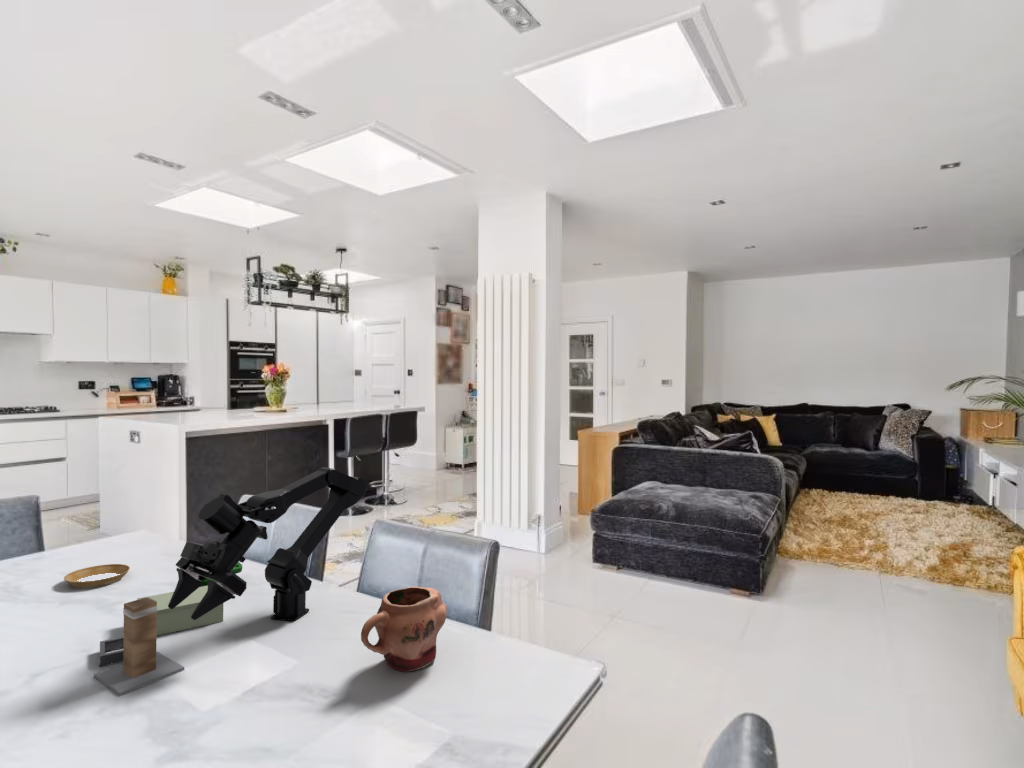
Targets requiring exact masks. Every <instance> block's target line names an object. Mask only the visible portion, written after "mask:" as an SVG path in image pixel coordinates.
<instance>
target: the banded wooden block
mask: <svg viewBox="0 0 1024 768" xmlns="http://www.w3.org/2000/svg"><path fill="white" fill-rule="evenodd" d="M145 597H146V598H142V597H141V598H142V599H139V600H137V599H136V600H132V601H128V602H126V603H123V612H122V613H123V637H124V647H123V648H122V650H123V661H122V664H123V672H124V673H126V674H127V675H129V676H130V677H132V678H135V677H138V676H140V675H143V674H145V673H148V672H150V671H153V670H155V669H156V652H157V636H158V635H157V602H156V601H154V600H152V599H150V598H148V597H147V596H145ZM156 635H157V636H156Z"/></svg>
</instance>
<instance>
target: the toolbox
mask: <svg viewBox="0 0 1024 768" xmlns="http://www.w3.org/2000/svg"><path fill="white" fill-rule="evenodd" d="M207 590H208V586H203V587H199V588H198V589H196V590H195V591H194V592H193V593H192V594H190V595H189V596H188V597H187V598H186V599H185V600H183V601H182V602H181V603H180V604H179V605H177V606H176V607H175V608H173V609H170V608H169V607H168V605H169V602H170V600H171V598H172V595H173V593H174V591H171V592H165V593H160V594H155V595H149V596H143V597H142V596H141V597H137V598H136V600H139V599H142V598H146V597H148V598H150V599H152V600H154V601H156V602H157V635H156V637H157V636H162V635H165V634H170V633H175V632H176V633H177V632H181V631H185V630H189V629H194V628H199V627H202V626H207V625H212V624H217V623H221V622H224V603H223V604H221V605H219V606H217V607H216V608H214V609H212V610H211V611H209V612H207V613H206V614H204V615H203V616H201V617H199V618H198V619H196V620H193V619H192V618H191V616H192V614H193V612H194V610H195V609H196V607H197V606H198V604H199V603H200V601H201V600H202V598H203V597H204V595H205V594H206V592H207Z"/></svg>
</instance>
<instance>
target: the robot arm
mask: <svg viewBox="0 0 1024 768" xmlns="http://www.w3.org/2000/svg"><path fill="white" fill-rule="evenodd" d="M324 488H327V489H329V492H328V497H327V500H326V502H325V503H324V504H323V506H322V507H321V508H320V510H318V512H317V514H316V515H315V516H314V517H313V518H312V520H311V521H310V522H309V524H308V525H307V526H306V527H305V529H304V530H303V531H302V533H300V535H299V536H298V538H297V539H296V540H295V541H294V543H292V545H291V546H290V547H288V548H281V547H279V548H277V550H276V551H275V553H274V554H273V556H272V557H271V558H270V559H268V560H267V561H266V562H267V563H268V564H267V565H266V567H265V568H264V577H265V580H266V582H268V583H269V586H270V588H271V589H273V590H274V595H273V605H272V606H273V607H272V608H273V614H272V615H270V619H271V620H278V621H279V620H280V621H285V622H286V621H288V622H296V621H297V620H299V618H301V617H303V616H304V615H305V614H307V613H309V612H310V608H307V607H306V600H307V599H306V598H307V597H306V596H307V595H306V594H307V592H308V591H310V589H311V587H312V582H313V581H312V579H310V578H308V577H307V576H306V575H305V574H306V571H307V569H308V564H309V563H308V562H309V558H310V557H311V555H312V553H314V551H315V550H316V548H317V547H318V546H319V544H320V543H321V542H322V540H323V539H324V538H325V536H326V535H327V534H328V532H329V531H330V530H331V529H332V527H333V526H334V524H335V523H336V522H337V521H338V519H339V518H340V517H341V516H342V514H343V513H344V511H346V510H348V509H349V508H352V507H354V506H355V505H356V504H357V503H358V502H359V501H360V500H361V499H362V498H363V497H364V496H365V494H366V491H367V486H366V481H365V480H364V479H363V478H361V477H356V476H350V475H348V474H346V473H342V472H340V471H338V470H337V469H335V468H330V467H324V466H323V467H320V468H318V469H317V470H316V471H314V472H312V473H310V474H308V475H306V476H304V477H302V478H300V479H298V480H296V481H294V482H291V483H289V484H288V485H286V486H284V487H282V488H278V489H275V490H268V491H264V492H260V493H257V494H254V495H252V496H250V497H248V499H247V500H246V501H244V502H240V503H237V502H236V501H234V500H233V498H232V497H231V495H229V494H226V493H220V495H219V496H218V497H215V498H212V499H211V500H210V501H209V502H207V503H206V504H204V505H203V507H202V508H201V510H200V511H199V513H198V519H199V520H201V521H202V522H203V523H205V524H206V525H207V526H208V527H210V528H211V529H212V530H213V531H215V532H216V533H218V534H219V535H224V534H225V535H224V537H223V538H222V539H221V540H220V541H217V540H215V541H213V542H209V541H206V542H205V543H203V544H202V543H197V542H192V541H190V540H189V541H188V540H186V542H185V544H184V547H183V549H182V551H181V554H180V556H179V557H180V558H179V560H178V561H177V562H176V563H175V566H176V572H177V575H178V581H177V583H176V586H175V588H174V591H173V592H174V593H173V595H172V598H171V600H170V602H169V605H168V607H169V608H170V609H173V608H175V607H176V606H177V605H179V604H180V603H181V602H182V601H183V600H185V599H186V598H187V597H188V596H189V595H190V594H192V593H193V592H194V591H195V590H196V589H198V588H199V587H200V586H201V585H202V583H201V582H199V581H198V580H200V581H204V580H205V579H207V578H208V579H210V580H213V581H216V583H215V582H213V581H210V580H208V590H207V592H206V594H205V595H204V597H203V598H202V600H201V601H200V603H199V604H198V606H197V607H196V609H195V610H194V612H193V614H192V616H191V618H192V619H193V620H196V619H198V618H199V617H201V616H203V615H204V614H206V613H207V612H209V611H211V610H212V609H214V608H216V607H217V606H219V605H221V604H223V605H224V604H225V603H226V602H227V601H230V600H231V599H235V598H236V596H238V597H241V596H242V595H243V593H245V591H246V590H247V581H245V579H243V578H242V577H240V576H239V575H237V574H235V573H233V572H232V570H233V568H234V567H235V566H236V565H237V563H238V562H239V563H241V564H243V563H244V562H245V561H246V560H247V558H246V557H244V556H245V554H246V553H247V552H248V550H249V549H250V547H252V545H253V544H254V543H255V541H256V539H257V538H258V539H262V540H265V541H266V540H268V532H267V526H263V525H258V523H256V522H255V521H257V522H260V523H264V524H272V523H275V522H276V521H277V520H278V519H280V518H281V517H282V516H283V515H285V514H286V513H287V511H288V510H289V508H291V507H292V506H293V505H294V504H296V503H299V502H300V501H302V500H304V499H305V498H307V497H309V496H311V495H312V494H315V493H317V492H318V491H320V490H322V489H324ZM244 517H245V518H248V519H249V520H246V519H245V518H244Z"/></svg>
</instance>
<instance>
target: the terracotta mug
mask: <svg viewBox="0 0 1024 768" xmlns="http://www.w3.org/2000/svg"><path fill="white" fill-rule="evenodd" d="M447 610H448V607H447V605H446V604H445V603H444V602H443V599H442V595H441V592H440V591H439V590H436V589H435V588H432V587H421V586H409V587H406V588H399V589H395V590H391V591H389V592H387V593H386V594H385V595H383V597H382V599H381V604H380V606H379V608H378V610H377V612H376V614H373V615H372V616H371V617H370V618H368V619H367V620H366V621H365V623H364V624H363V626H362V629H361V631H360V640H361V642H362V643H363V646H364V647H366V648H367V649H368V650H370V651H372V652H373V653H377V654H380V655H383V658H384V661H385V662H386V664H387V666H388V667H389V668H392V669H393V670H396V671H400V672H412V671H416V670H419V669H422V668H425V667H426V666H429V665H430V664H431V663H433V662H434V661H435V660H436V656H437V637H438V634H439V633H440V630H441V629H442V628H443V626H444V624H445V622H446V619H447ZM373 628H375V630H376V633H377V637H378V640H377V642H376V643H375V644H372V643H370V641H369V636H370V635H369V634H370V633H371V631H372V630H373Z"/></svg>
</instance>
